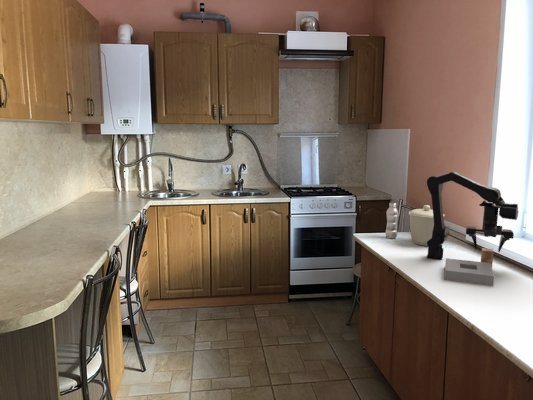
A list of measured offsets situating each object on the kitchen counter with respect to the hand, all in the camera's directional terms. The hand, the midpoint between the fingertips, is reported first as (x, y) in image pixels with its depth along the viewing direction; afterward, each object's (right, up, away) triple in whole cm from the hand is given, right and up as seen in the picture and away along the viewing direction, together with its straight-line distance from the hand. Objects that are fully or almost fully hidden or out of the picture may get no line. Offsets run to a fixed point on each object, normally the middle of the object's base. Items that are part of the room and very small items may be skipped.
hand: (487, 250), depth 197 cm
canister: (-14, -1, +40) cm, 42 cm away
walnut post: (0, -7, +1) cm, 8 cm away
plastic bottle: (-28, +1, +51) cm, 59 cm away
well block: (-13, -9, -10) cm, 19 cm away
